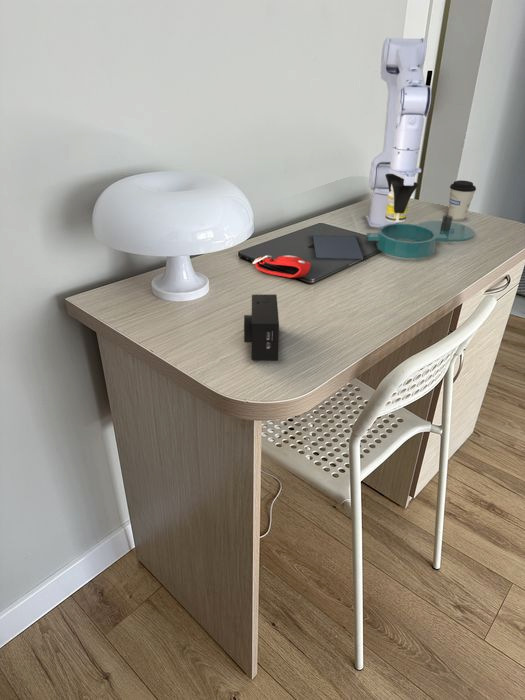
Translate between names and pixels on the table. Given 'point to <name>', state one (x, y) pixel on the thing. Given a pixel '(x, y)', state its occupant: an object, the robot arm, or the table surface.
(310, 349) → the table surface
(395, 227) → the pot
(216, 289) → the table surface
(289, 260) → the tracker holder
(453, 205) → the coffee cup
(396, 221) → the supplement bottle
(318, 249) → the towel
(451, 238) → the pot lid
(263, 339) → the digital camera
